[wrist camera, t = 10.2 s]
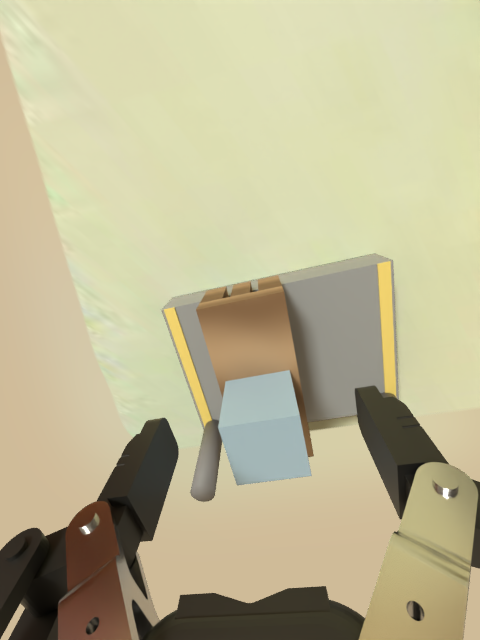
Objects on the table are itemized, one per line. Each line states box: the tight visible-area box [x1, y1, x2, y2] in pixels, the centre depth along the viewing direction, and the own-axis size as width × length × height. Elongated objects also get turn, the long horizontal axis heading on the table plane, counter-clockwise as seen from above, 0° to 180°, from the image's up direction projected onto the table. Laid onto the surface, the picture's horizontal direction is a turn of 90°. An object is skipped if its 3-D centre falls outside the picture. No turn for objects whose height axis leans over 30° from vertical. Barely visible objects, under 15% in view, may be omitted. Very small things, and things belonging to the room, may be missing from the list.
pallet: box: [196, 275, 313, 457], centre depth 20 cm, size 12×5×4 cm, turn 13°
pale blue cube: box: [218, 370, 311, 485], centre depth 16 cm, size 4×4×4 cm
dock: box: [162, 254, 399, 501], centre depth 20 cm, size 16×12×9 cm
